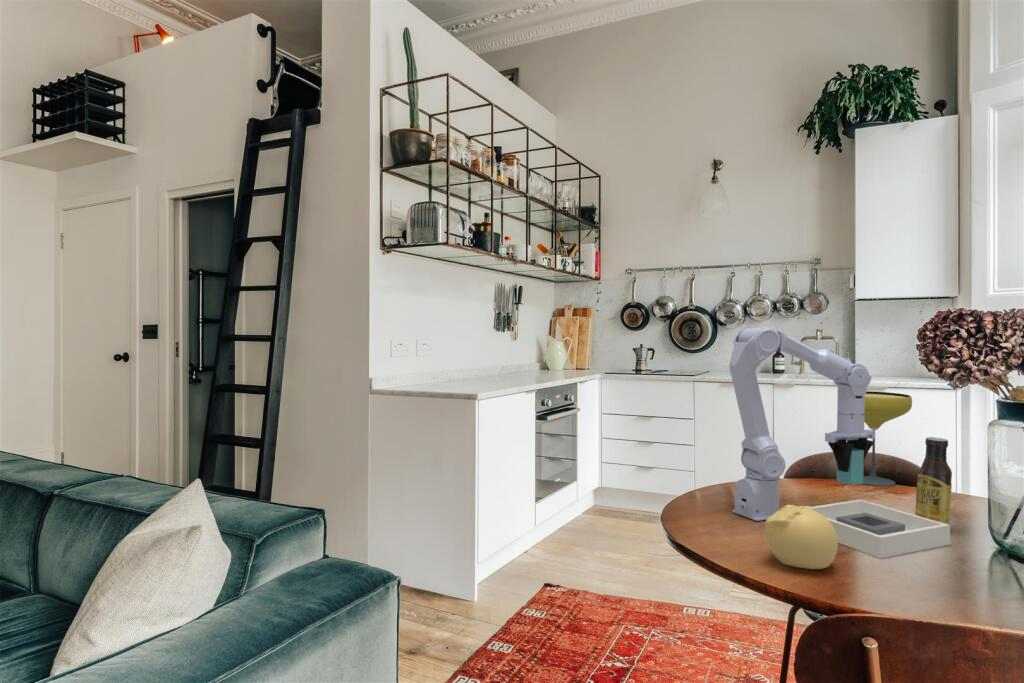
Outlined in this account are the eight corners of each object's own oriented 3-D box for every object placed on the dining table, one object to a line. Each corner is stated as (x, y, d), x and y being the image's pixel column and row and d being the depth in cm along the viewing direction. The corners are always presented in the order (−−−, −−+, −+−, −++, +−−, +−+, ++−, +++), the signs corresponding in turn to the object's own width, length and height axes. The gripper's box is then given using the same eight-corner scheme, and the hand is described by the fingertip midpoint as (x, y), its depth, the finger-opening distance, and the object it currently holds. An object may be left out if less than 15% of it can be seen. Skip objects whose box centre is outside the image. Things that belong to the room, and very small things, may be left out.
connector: (851, 485, 145) (851, 451, 145) (836, 481, 148) (836, 448, 148) (863, 483, 146) (863, 450, 146) (848, 479, 150) (848, 447, 150)
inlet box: (880, 558, 117) (881, 537, 117) (796, 527, 136) (796, 509, 136) (949, 544, 125) (950, 525, 125) (860, 516, 143) (860, 499, 143)
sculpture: (783, 547, 123) (783, 494, 123) (847, 565, 114) (847, 507, 114) (755, 562, 115) (755, 505, 115) (821, 582, 106) (822, 520, 106)
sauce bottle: (908, 525, 137) (909, 436, 136) (928, 522, 139) (929, 434, 138) (937, 535, 131) (939, 441, 130) (957, 531, 133) (959, 439, 132)
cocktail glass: (830, 482, 175) (831, 394, 174) (845, 471, 189) (846, 389, 188) (905, 493, 163) (906, 399, 163) (915, 480, 177) (916, 393, 177)
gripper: (843, 417, 140) (843, 476, 141) (887, 414, 146) (886, 471, 146) (817, 413, 147) (817, 470, 147) (860, 410, 153) (859, 465, 153)
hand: (849, 470), depth 147 cm, fingers closed on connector, 4 cm apart
